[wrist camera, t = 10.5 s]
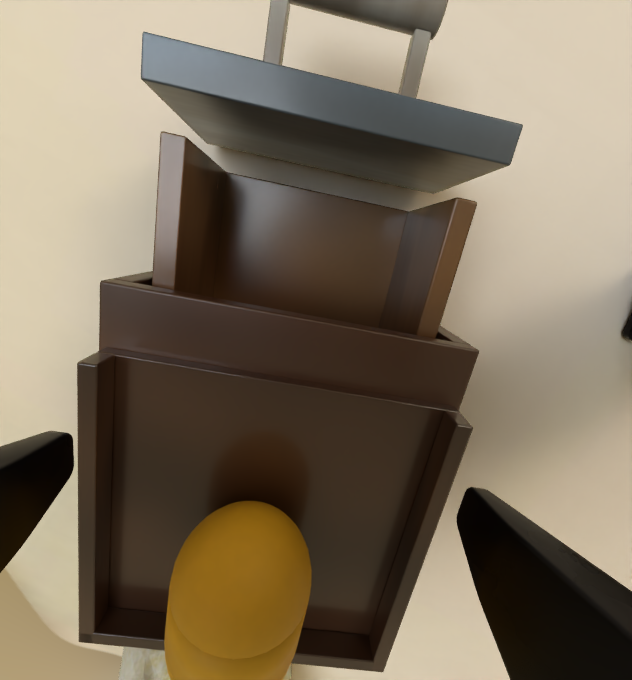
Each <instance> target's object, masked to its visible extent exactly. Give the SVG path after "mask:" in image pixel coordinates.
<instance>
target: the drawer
mask: <svg viewBox="0 0 632 680" xmlns="http://www.w3.org/2000/svg"><path fill="white" fill-rule="evenodd" d="M447 3H448V0H271V2H270V10H269V18H268V25H267V33H266V41H265V49H264V57H263V61H261V60H257V59H253V58H249V57H245V56H241V55H237V54H233V53H228V52H224V51H220V50H216V49H212V48H208V47H204V46H200V45H196V44H192V43H188V42H184V41H180V40H175V39H171V38H167V37H163V36H159V35H155V34H151V33H147V32H143V38H142V63H141V79H142V80H143V81H144V82H145V83H146V84H147V85H148V86H149V87H150V88H151V89H152V90H153V91H154V92H155V93H156V94H157V95H158V96H159V97H160V98H161V99H162V100H163V101H164V102H165V103H166V104H167V105H168V106H169V107H170V108H171V109H172V110H173V111H174V112H175V113H176V114H177V115H178V116H179V117H180V118H181V119H182V120H183V121H184V122H185V123H186V124H187V125H188V126H189V127H191V128H192V129H193V130H194V131H195V132H196V133H197V134H198V135H199V136H200V137H201V138H202V139H203V140H204V141H205V142H206V143H207V144H212V145H216V146H221V147H225V148H230V149H234V150H239V151H243V152H248V153H252V154H257V155H261V156H266V157H270V158H275V159H279V160H284V161H288V162H293V163H297V164H302V165H306V166H311V167H315V168H320V169H324V170H329V171H333V172H338V173H342V174H347V175H351V176H356V177H360V178H365V179H369V180H374V181H378V182H383V183H387V184H392V185H396V186H401V187H405V188H410V189H414V190H419V191H423V192H428V193H432V194H435V193H437V192H440V191H443V190H445V189H448V188H451V187H453V186H456V185H459V184H461V183H464V182H466V181H469V180H472V179H474V178H477V177H480V176H482V175H485V174H488V173H490V172H493V171H496V170H498V169H501V168H504V167H506V166H509V165H510V164H511V161H512V158H513V155H514V152H515V148H516V145H517V142H518V139H519V136H520V133H521V130H522V127H523V125H522V124H518V123H514V122H510V121H506V120H502V119H498V118H493V117H489V116H485V115H481V114H477V113H473V112H469V111H465V110H461V109H457V108H453V107H449V106H445V105H440V104H436V103H432V102H428V101H424V100H420V99H416V96H417V92H418V88H419V84H420V79H421V75H422V71H423V67H424V63H425V59H426V54H427V50H428V46H429V42H430V40H432V39H433V38H434V37H435V35H436V33H437V31H438V29H439V27H440V25H441V22H442V19H443V16H444V13H445V10H446V7H447ZM290 4H293V5H297V6H301V7H305V8H309V9H312V10H316V11H320V12H324V13H328V14H332V15H335V16H339V17H343V18H347V19H351V20H355V21H358V22H362V23H366V24H370V25H374V26H378V27H381V28H385V29H389V30H393V31H397V32H401V33H404V34H408V35H412V37H411V39H410V44H409V48H408V53H407V57H406V62H405V66H404V70H403V75H402V79H401V84H400V88H399V92H398V94H396V93H392V92H387V91H383V90H379V89H375V88H371V87H367V86H363V85H359V84H355V83H351V82H347V81H343V80H339V79H334V78H330V77H326V76H322V75H318V74H314V73H310V72H306V71H302V70H298V69H294V68H290V67H286V66H282V61H283V54H284V46H285V39H286V32H287V25H288V18H289V11H290ZM476 206H477V202H475V201H471V200H467V199H462V198H454V199H450V200H447V201H444V202H440V203H437V204H433V205H430V206H427V207H423V208H420V209H416V210H413V211H410V212H408V211H404V210H399V209H395V208H390V207H385V206H381V205H376V204H372V203H367V202H362V201H358V200H353V199H348V198H344V197H339V196H335V195H330V194H325V193H321V192H316V191H311V190H307V189H302V188H298V187H293V186H288V185H284V184H279V183H274V182H270V181H265V180H261V179H256V178H251V177H247V176H242V175H237V174H233V173H228V172H226V171H224V170H223V169H222V168H221V167H220V166H219V165H218V164H216V163H215V162H214V161H213V160H212V159H211V158H210V157H208V156H207V155H206V154H205V153H204V152H203V151H201V150H200V149H199V148H198V147H197V146H196V145H195V144H193V143H192V142H191V141H190V140H189V139H188V138H186V137H185V136H180V135H176V134H171V133H167V132H161V137H160V155H159V172H158V190H157V207H156V225H155V242H154V260H153V278H152V286H154V287H160V288H165V289H170V290H176V291H181V292H187V293H192V294H197V295H203V296H208V297H213V298H219V299H224V300H230V301H235V302H240V303H246V304H251V305H257V306H262V307H267V308H273V309H278V310H284V311H289V312H294V313H300V314H305V315H311V316H316V317H321V318H327V319H332V320H338V321H343V322H348V323H354V324H359V325H364V326H370V327H375V328H381V329H386V330H391V331H397V332H402V333H408V334H413V335H418V336H424V337H429V338H435V339H436V336H437V332H438V329H439V326H440V323H441V319H442V316H443V313H444V310H445V306H446V303H447V300H448V297H449V293H450V290H451V287H452V284H453V280H454V277H455V274H456V271H457V267H458V264H459V261H460V258H461V254H462V251H463V248H464V245H465V241H466V238H467V235H468V232H469V228H470V225H471V222H472V219H473V215H474V212H475V209H476Z"/></svg>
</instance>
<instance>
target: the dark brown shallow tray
mask: <svg viewBox="0 0 632 680" xmlns="http://www.w3.org/2000/svg"><path fill="white" fill-rule="evenodd" d="M77 386H78V553H79V642H84V643H94V644H104V645H114V646H124V647H134V648H144V649H154V650H164V651H165V645H164V640H165V627H166V616H167V606H168V596H169V586H170V581H171V576H172V573H173V568H174V564H175V561H176V559H177V557H178V554H179V552H180V550H181V548H182V546H183V544H184V542H185V541H186V539H187V538H188V536H189V535H190V534H191V532H192V531H193V530H194V529H195V528H196V527H197V526H198V524H199V523H200V522H202V521H203V520H204V519H205V518H206V517H207V516H208V515H210V514H211V513H213V512H214V511H216V510H218V509H220V508H222V507H224V506H226V505H228V504H231V503H235V502H240V501H259V502H264V503H267V504H270V505H272V506H274V507H276V508H278V509H280V510H281V511H282V512H284V513H285V514H286V515H287V516H288V517H289V518H290V519H291V520H292V521H293V522H294V523H295V524H296V525H297V527H298V529H299V530H300V532H301V534H302V536H303V538H304V540H305V543H306V545H307V548H308V551H309V557H310V563H311V570H312V576H311V590H310V597H309V602H308V606H307V610H306V614H305V618H304V622H303V626H302V629H301V633H300V637H299V641H298V645H297V649H296V652H295V655H294V658H293V660H292V662H291V663H295V664H305V665H315V666H325V667H336V668H346V669H356V670H366V671H376V672H383V671H384V668H385V666H386V662H387V660H388V657H389V654H390V652H391V649H392V646H393V643H394V641H395V638H396V635H397V633H398V630H399V627H400V625H401V622H402V619H403V616H404V614H405V611H406V608H407V606H408V603H409V600H410V597H411V595H412V592H413V589H414V587H415V584H416V581H417V579H418V576H419V573H420V570H421V568H422V565H423V562H424V560H425V557H426V554H427V552H428V549H429V546H430V543H431V541H432V538H433V535H434V533H435V530H436V527H437V524H438V522H439V519H440V516H441V514H442V511H443V508H444V506H445V503H446V500H447V497H448V495H449V492H450V489H451V487H452V484H453V481H454V478H455V476H456V473H457V470H458V468H459V465H460V462H461V460H462V457H463V454H464V451H465V449H466V446H467V443H468V441H469V438H470V435H471V433H472V430H473V427H472V426H471V425H470V423H469V422H468V421H467V420H466V419H465V418H464V417H463V416H462V415H461V414H460V413H459V411H458V410H457V409H456V408H455V407H454V406H450V405H445V404H439V403H433V402H427V401H421V400H415V399H409V398H403V397H397V396H391V395H385V394H380V393H374V392H368V391H362V390H356V389H350V388H344V387H338V386H332V385H326V384H320V383H314V382H309V381H303V380H297V379H291V378H285V377H279V376H273V375H267V374H261V373H255V372H249V371H244V370H238V369H232V368H226V367H220V366H214V365H208V364H202V363H196V362H190V361H184V360H178V359H173V358H167V357H161V356H155V355H149V354H143V353H137V352H131V351H125V350H119V349H113V348H107V347H106V348H104V349H102V350H100V351H98V352H97V353H95V354H93V355H91V356H89V357H87V358H85V359H83V360H81V361H79V362H78V364H77Z"/></svg>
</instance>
